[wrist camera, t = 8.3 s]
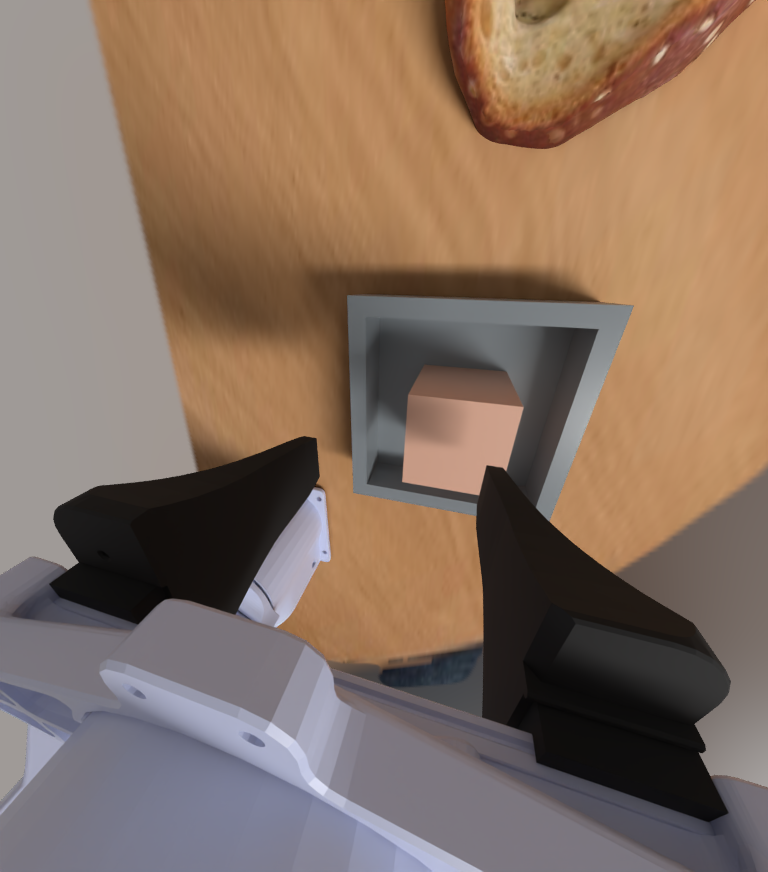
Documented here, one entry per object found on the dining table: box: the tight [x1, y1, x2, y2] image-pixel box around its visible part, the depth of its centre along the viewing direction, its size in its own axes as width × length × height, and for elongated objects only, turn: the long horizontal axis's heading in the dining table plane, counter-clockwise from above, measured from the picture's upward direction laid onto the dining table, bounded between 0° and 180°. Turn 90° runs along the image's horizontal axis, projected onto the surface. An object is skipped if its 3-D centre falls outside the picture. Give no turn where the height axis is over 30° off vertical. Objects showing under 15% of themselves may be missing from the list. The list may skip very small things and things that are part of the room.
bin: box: [347, 294, 634, 521], centre depth 18 cm, size 13×13×4 cm
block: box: [402, 365, 524, 495], centre depth 16 cm, size 5×5×6 cm
